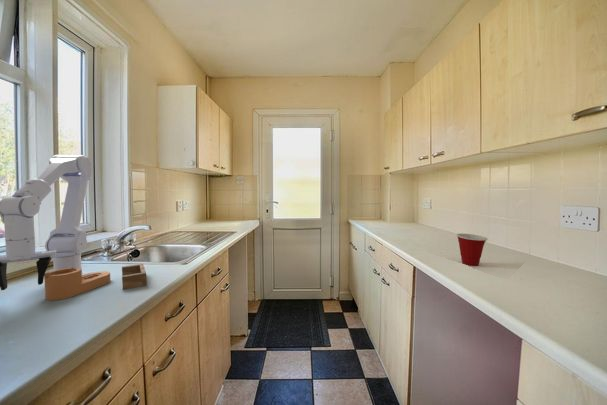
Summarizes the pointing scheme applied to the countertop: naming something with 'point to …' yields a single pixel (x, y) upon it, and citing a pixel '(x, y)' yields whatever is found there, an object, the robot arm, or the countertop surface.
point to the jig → (133, 276)
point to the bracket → (72, 282)
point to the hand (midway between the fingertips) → (23, 286)
